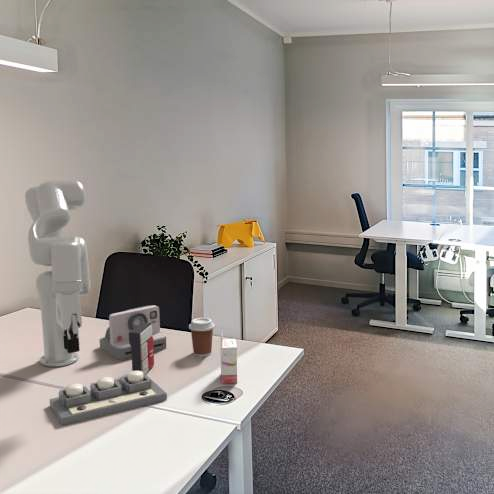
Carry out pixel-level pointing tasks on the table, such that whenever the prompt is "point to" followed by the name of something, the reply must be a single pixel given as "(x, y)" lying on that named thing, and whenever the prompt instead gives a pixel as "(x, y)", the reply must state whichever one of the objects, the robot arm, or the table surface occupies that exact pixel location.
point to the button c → (135, 377)
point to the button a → (74, 390)
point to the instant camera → (124, 323)
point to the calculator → (142, 347)
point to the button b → (105, 383)
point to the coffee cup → (202, 336)
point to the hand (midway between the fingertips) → (71, 349)
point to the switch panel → (106, 400)
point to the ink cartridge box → (228, 360)
